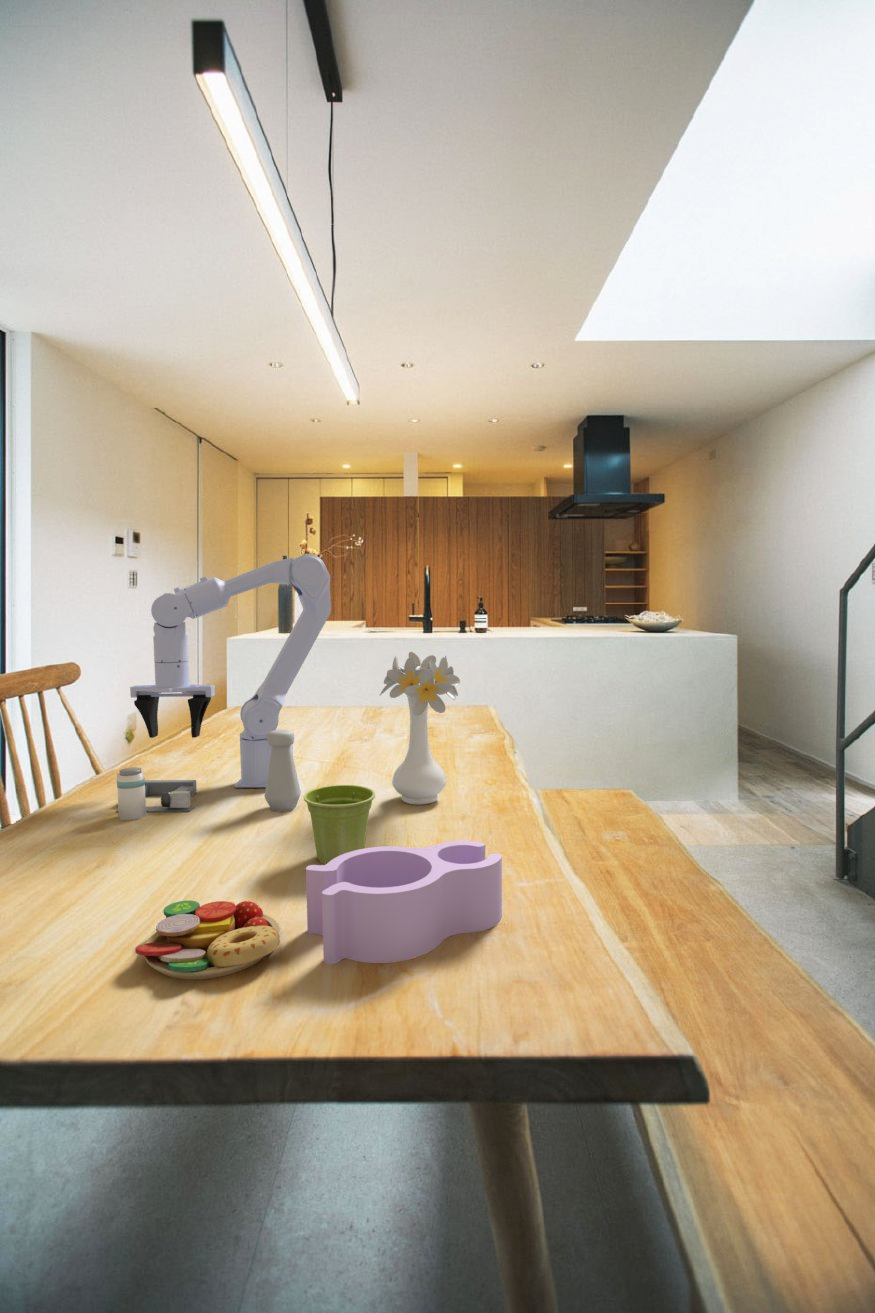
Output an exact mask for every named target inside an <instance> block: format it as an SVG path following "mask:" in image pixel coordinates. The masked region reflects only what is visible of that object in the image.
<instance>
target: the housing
mask: <svg viewBox="0 0 875 1313" xmlns="http://www.w3.org/2000/svg"><path fill="white" fill-rule="evenodd" d="M172 791H190V796H191V797H192V796H194V795H195V794H196V793H197V792H196V791H197V780H196V779H168V780H167V779H165V780H164V779H162V780H161V779H160V780H159V779H157V780H156V779H155V780H154V779H152V780H151V779H145V798H146V797H148V796H149V795H151V796H152V795H159V796H160V795H161V796H162V794H163V792H172ZM195 792H196V793H195ZM194 793H195V794H194ZM193 807H194V808H195V807H196V806H194V805H191V806H190V807H188V808H170V807H162V805H161V806H159V805H156V806H152V805H151V806H147V805H146V813H189V812H191V811H192V810H193V809H194V808H193ZM190 810H191V811H190ZM115 812H116V813H119V810H118V809H116V811H115Z"/></svg>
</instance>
